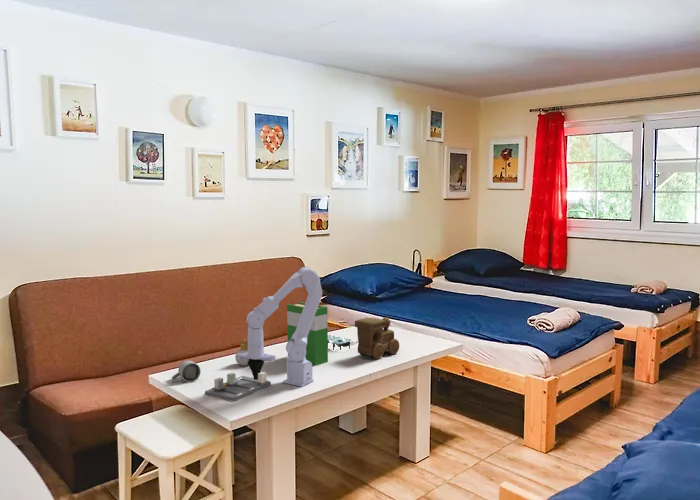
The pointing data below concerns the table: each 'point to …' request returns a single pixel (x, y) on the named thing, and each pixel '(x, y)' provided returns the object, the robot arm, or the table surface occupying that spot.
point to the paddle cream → (262, 378)
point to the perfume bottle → (242, 350)
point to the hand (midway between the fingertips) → (256, 378)
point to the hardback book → (311, 332)
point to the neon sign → (339, 341)
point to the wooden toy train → (375, 337)
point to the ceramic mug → (187, 372)
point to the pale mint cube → (231, 379)
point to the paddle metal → (218, 384)
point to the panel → (238, 389)
